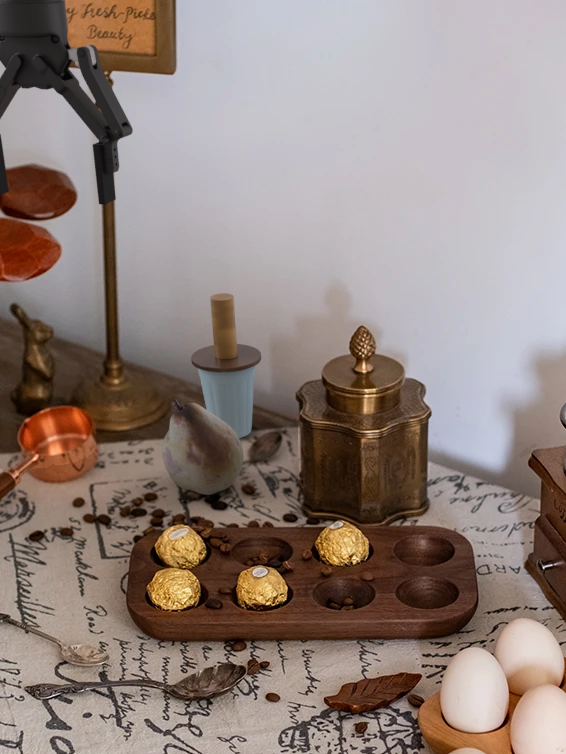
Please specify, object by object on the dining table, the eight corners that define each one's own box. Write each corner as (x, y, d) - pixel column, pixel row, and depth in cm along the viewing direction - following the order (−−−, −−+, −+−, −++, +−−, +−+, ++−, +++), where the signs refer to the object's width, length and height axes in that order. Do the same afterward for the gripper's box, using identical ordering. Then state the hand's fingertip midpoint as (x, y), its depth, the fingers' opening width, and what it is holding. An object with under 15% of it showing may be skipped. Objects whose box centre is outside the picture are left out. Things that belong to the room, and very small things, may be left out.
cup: (219, 416, 155) (213, 346, 150) (268, 424, 153) (264, 353, 148) (193, 438, 149) (186, 365, 144) (244, 446, 147) (239, 373, 142)
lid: (180, 369, 143) (174, 305, 139) (207, 345, 151) (202, 283, 147) (247, 375, 141) (242, 310, 137) (270, 350, 149) (267, 288, 145)
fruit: (151, 483, 137) (141, 394, 132) (213, 461, 143) (206, 374, 137) (198, 512, 131) (190, 419, 125) (261, 487, 136) (256, 397, 131)
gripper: (151, -5, 117) (167, 197, 127) (-57, -11, 123) (-26, 184, 133) (120, 0, 111) (139, 212, 121) (-98, -7, 116) (-63, 197, 126)
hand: (53, 198), depth 127 cm, fingers open, 13 cm apart
